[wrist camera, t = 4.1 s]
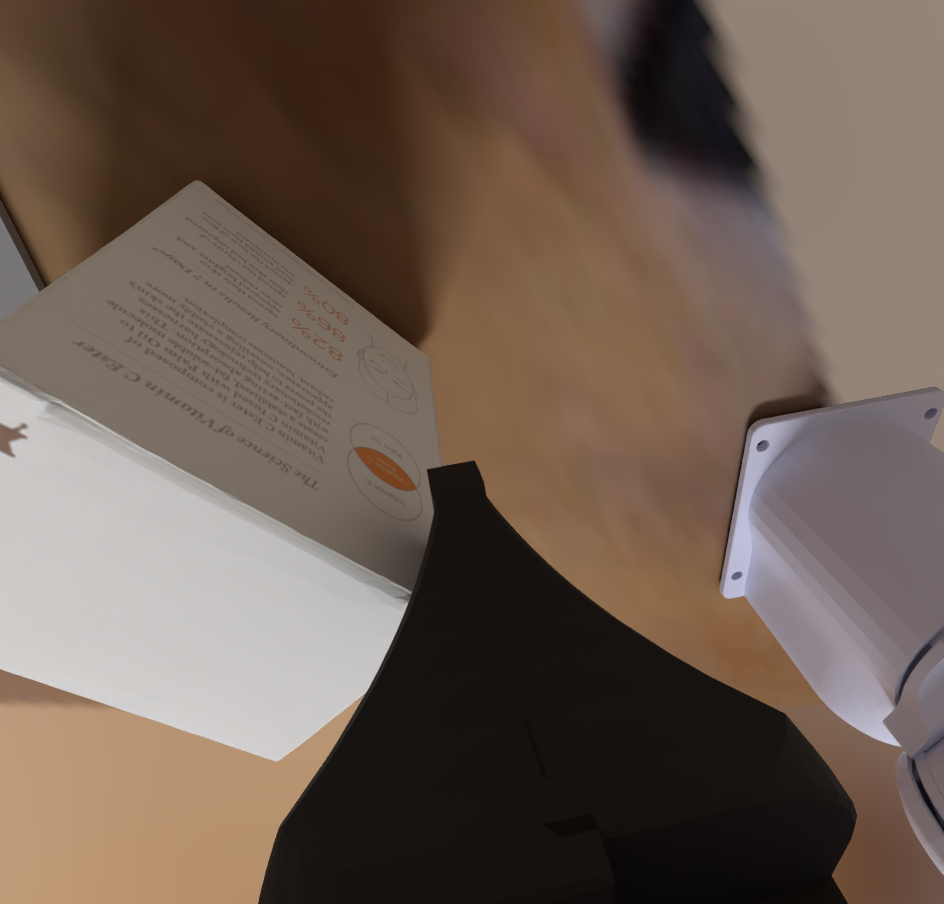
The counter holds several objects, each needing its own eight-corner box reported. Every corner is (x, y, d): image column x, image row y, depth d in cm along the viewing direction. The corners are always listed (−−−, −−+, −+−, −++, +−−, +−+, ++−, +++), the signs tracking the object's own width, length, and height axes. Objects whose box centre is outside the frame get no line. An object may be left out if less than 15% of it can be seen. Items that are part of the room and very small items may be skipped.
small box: (97, 327, 17) (-204, 612, 9) (200, 170, 15) (-61, 339, 7) (329, 470, 21) (277, 775, 12) (436, 358, 19) (464, 628, 10)
